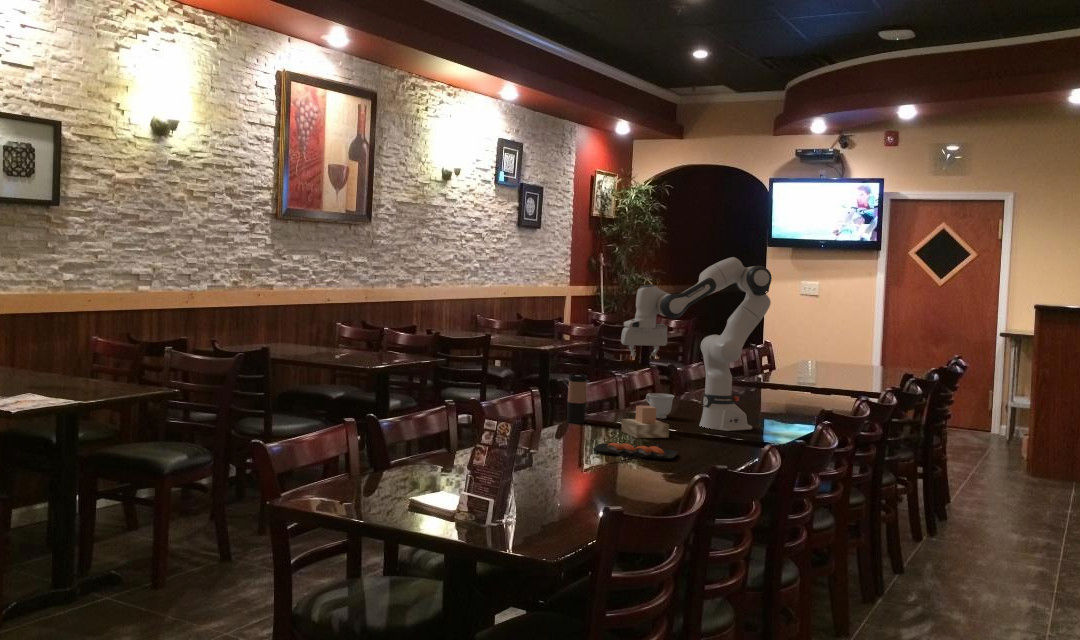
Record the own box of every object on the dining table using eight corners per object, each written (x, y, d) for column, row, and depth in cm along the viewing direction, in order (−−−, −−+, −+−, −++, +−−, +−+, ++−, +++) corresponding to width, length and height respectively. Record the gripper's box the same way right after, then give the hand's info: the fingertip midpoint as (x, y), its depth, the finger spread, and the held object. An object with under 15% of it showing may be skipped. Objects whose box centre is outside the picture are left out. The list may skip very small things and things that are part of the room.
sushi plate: (679, 456, 339) (679, 445, 339) (665, 472, 311) (666, 461, 310) (599, 448, 348) (600, 437, 347) (579, 463, 319) (580, 452, 319)
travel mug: (564, 420, 401) (566, 373, 400) (581, 420, 404) (583, 374, 402) (570, 423, 394) (572, 376, 393) (587, 423, 396) (589, 376, 395)
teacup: (654, 413, 434) (656, 391, 433) (679, 418, 422) (680, 396, 422) (636, 415, 426) (637, 393, 425) (660, 420, 414) (661, 397, 414)
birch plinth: (652, 430, 387) (653, 418, 386) (668, 437, 373) (669, 424, 373) (621, 431, 382) (621, 419, 382) (636, 437, 369) (637, 425, 368)
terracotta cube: (648, 420, 381) (649, 405, 381) (655, 423, 376) (656, 408, 375) (635, 420, 379) (636, 405, 379) (641, 423, 374) (642, 408, 373)
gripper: (664, 323, 404) (662, 355, 405) (620, 322, 397) (618, 355, 398) (671, 324, 398) (669, 357, 399) (626, 323, 391) (624, 356, 392)
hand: (643, 356), depth 398 cm, fingers open, 8 cm apart
